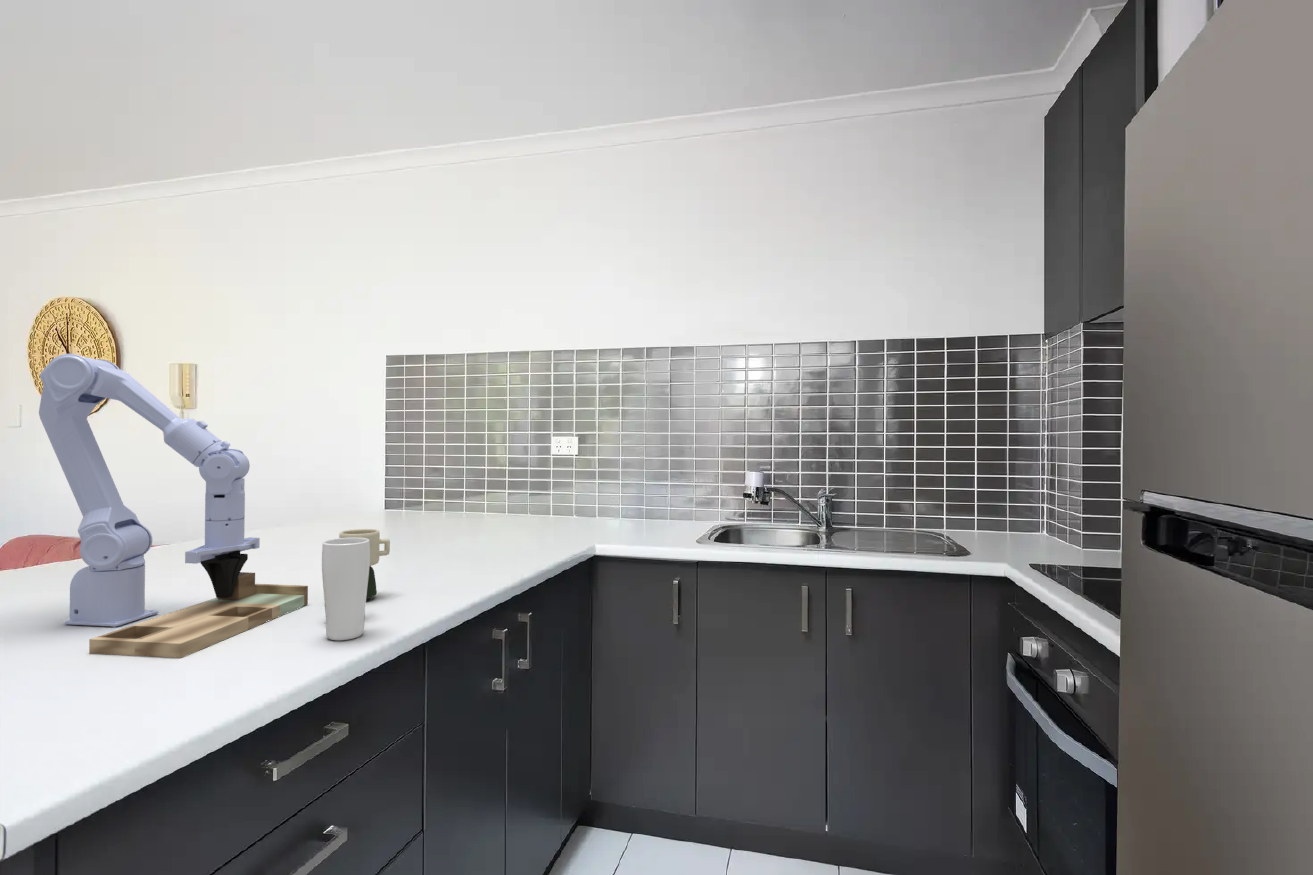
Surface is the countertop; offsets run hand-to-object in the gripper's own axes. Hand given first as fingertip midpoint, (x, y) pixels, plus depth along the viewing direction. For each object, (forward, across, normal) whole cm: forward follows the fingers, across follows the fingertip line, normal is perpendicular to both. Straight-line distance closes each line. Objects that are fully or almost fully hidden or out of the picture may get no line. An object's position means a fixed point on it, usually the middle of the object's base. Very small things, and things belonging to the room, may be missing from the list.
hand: (224, 596), depth 110 cm
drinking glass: (+3, -9, -28) cm, 29 cm away
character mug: (+3, +12, -18) cm, 22 cm away
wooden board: (+3, -7, -4) cm, 8 cm away
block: (+1, +4, 0) cm, 4 cm away
